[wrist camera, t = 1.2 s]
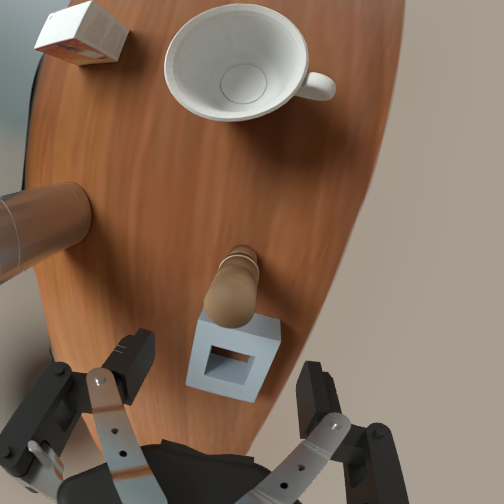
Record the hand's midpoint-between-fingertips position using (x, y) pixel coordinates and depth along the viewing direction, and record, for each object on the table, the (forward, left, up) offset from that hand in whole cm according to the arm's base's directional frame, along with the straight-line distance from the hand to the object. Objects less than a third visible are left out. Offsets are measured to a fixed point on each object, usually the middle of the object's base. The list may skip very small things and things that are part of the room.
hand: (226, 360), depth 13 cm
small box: (-12, +34, -21) cm, 42 cm away
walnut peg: (-1, -1, -20) cm, 20 cm away
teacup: (+6, +18, -21) cm, 28 cm away
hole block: (-6, -13, -20) cm, 25 cm away
